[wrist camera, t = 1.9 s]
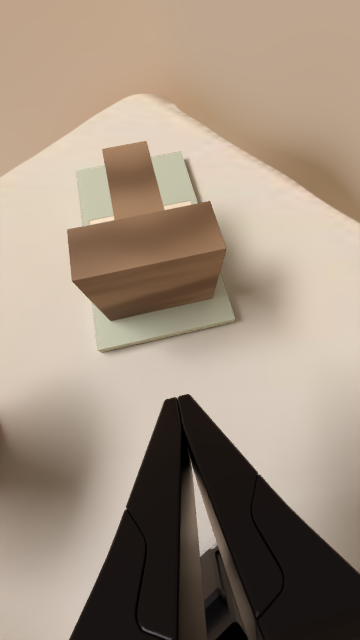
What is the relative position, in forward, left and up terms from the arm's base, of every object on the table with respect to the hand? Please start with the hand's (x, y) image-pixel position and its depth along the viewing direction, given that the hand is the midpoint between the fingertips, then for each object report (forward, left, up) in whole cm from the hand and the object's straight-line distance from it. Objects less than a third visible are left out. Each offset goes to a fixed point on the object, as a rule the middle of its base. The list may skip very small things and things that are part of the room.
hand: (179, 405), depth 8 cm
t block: (+13, -5, -13) cm, 19 cm away
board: (+17, -7, -14) cm, 23 cm away
